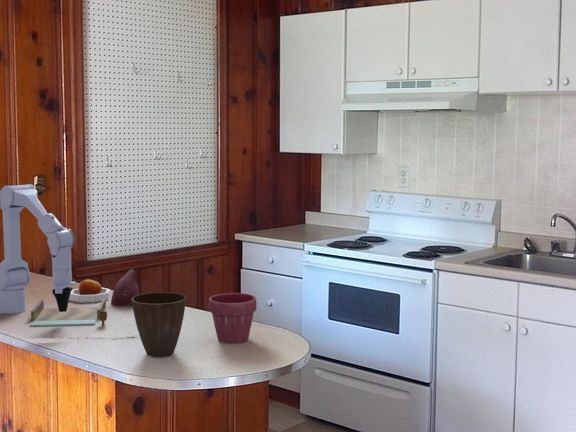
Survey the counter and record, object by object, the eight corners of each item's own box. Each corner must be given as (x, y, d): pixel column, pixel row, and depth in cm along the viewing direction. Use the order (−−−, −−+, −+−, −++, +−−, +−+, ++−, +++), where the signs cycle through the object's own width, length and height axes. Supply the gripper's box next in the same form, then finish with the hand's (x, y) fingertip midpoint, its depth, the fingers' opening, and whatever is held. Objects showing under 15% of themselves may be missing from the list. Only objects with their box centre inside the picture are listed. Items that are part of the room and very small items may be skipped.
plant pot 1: (122, 353, 220) (120, 297, 218) (165, 343, 230) (165, 289, 228) (153, 365, 209) (152, 306, 207) (197, 354, 220) (197, 297, 218)
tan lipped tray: (31, 324, 250) (30, 311, 250) (40, 312, 266) (40, 300, 266) (100, 322, 253) (100, 309, 252) (106, 310, 269) (105, 298, 268)
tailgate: (34, 324, 250) (29, 328, 243) (34, 320, 250) (29, 325, 243) (97, 322, 252) (94, 327, 245) (97, 319, 252) (94, 323, 245)
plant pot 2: (203, 335, 238) (203, 294, 237) (248, 331, 243) (247, 290, 242) (216, 348, 225) (216, 304, 224) (262, 343, 230) (263, 301, 228)
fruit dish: (67, 302, 280) (67, 295, 279) (73, 294, 293) (73, 287, 293) (107, 301, 281) (107, 295, 281) (111, 293, 295) (111, 286, 295)
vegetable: (142, 312, 280) (153, 271, 280) (133, 315, 270) (145, 273, 269) (114, 304, 281) (125, 263, 281) (105, 307, 271) (116, 265, 270)
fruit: (71, 296, 283) (77, 275, 286) (81, 303, 290) (87, 283, 293) (91, 298, 280) (96, 277, 284) (101, 305, 287) (106, 284, 291)
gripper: (71, 272, 238) (72, 316, 239) (78, 264, 252) (79, 305, 254) (47, 273, 237) (48, 317, 239) (55, 264, 251) (56, 305, 253)
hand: (63, 311), depth 246 cm, fingers closed
